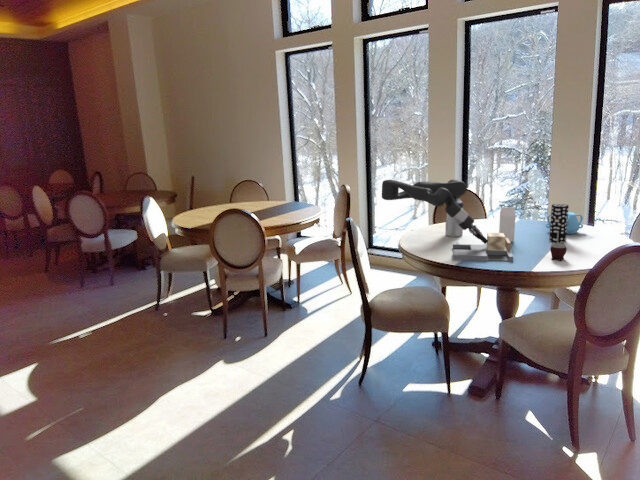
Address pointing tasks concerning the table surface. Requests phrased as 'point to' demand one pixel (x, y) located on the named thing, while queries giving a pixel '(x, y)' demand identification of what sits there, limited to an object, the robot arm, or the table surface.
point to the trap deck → (482, 252)
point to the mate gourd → (558, 250)
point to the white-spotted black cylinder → (558, 222)
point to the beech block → (496, 241)
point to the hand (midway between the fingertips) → (486, 242)
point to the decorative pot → (570, 222)
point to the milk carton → (507, 222)
